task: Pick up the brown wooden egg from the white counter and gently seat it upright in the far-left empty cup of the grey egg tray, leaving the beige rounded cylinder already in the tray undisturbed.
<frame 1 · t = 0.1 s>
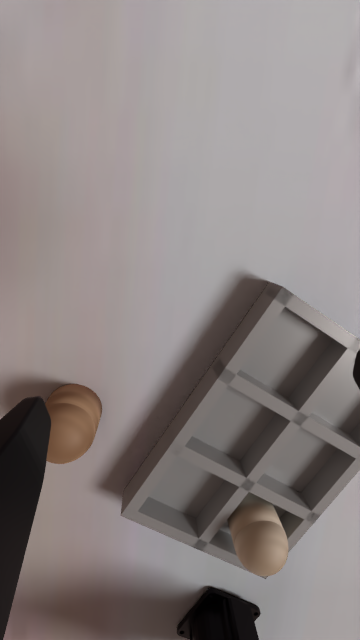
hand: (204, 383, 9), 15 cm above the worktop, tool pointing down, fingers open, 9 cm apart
brown egg: (74, 408, 26), on the worktop
grey egg tray: (262, 433, 28), on the worktop
beige rounded cylinder: (249, 511, 29), point 1 cm above the worktop, touching grey egg tray
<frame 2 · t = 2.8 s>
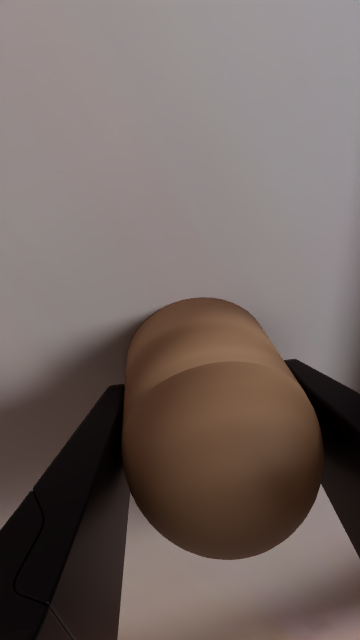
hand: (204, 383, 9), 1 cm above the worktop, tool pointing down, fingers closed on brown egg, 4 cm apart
brown egg: (198, 361, 10), on the worktop, touching gripper
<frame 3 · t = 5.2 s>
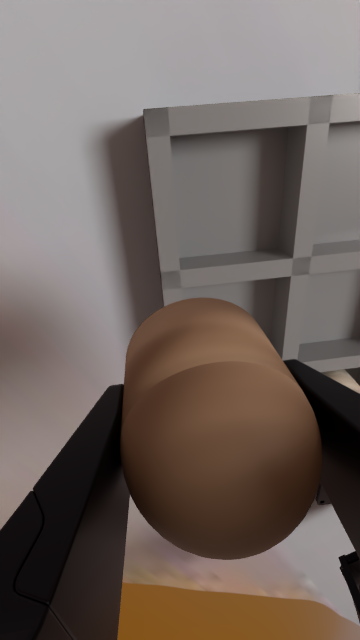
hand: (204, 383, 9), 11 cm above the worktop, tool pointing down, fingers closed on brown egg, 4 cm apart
brown egg: (197, 361, 10), point 10 cm above the worktop, touching gripper
grey egg tray: (277, 304, 21), on the worktop
beige rounded cylinder: (318, 384, 24), point 1 cm above the worktop, touching grey egg tray
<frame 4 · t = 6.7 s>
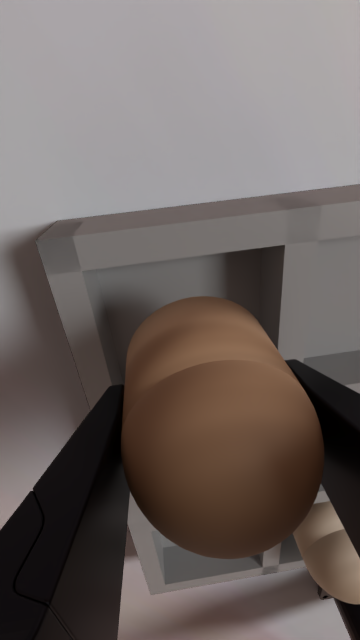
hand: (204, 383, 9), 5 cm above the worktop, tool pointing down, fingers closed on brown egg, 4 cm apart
brown egg: (197, 360, 10), point 4 cm above the worktop, touching gripper
grey egg tray: (261, 417, 17), on the worktop
beige rounded cylinder: (316, 495, 20), point 1 cm above the worktop, touching grey egg tray
when the fingers open (3 cm above the worktop, at t = 7.8 s): brown egg drops 2 cm, resting on grey egg tray.
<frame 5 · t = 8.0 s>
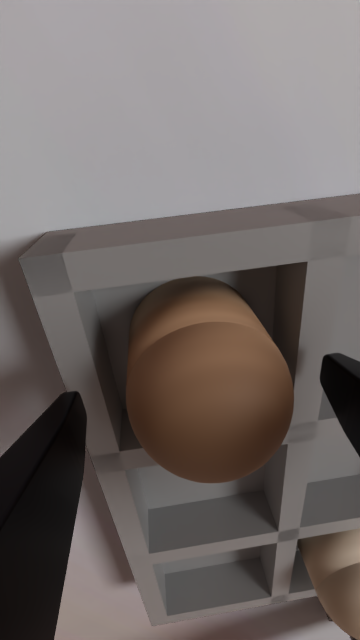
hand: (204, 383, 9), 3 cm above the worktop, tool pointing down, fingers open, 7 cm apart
brown egg: (191, 334, 11), point 1 cm above the worktop, touching grey egg tray
grey egg tray: (271, 439, 15), on the worktop
beige rounded cylinder: (328, 519, 18), point 1 cm above the worktop, touching grey egg tray
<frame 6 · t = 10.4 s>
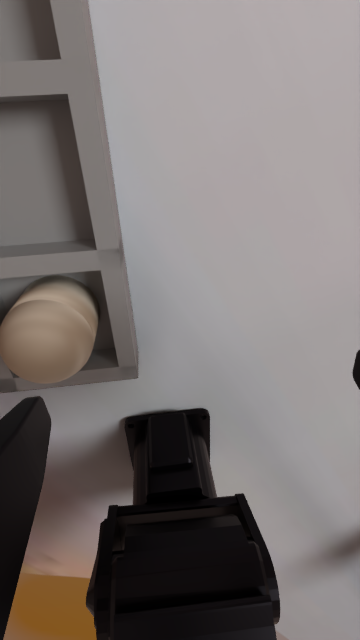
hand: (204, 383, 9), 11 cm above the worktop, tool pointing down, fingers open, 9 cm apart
beige rounded cylinder: (61, 310, 18), point 1 cm above the worktop, touching grey egg tray
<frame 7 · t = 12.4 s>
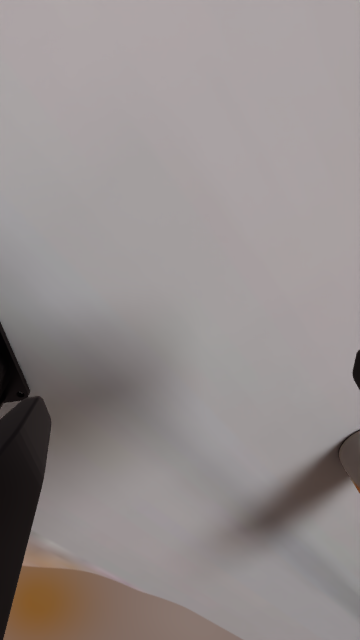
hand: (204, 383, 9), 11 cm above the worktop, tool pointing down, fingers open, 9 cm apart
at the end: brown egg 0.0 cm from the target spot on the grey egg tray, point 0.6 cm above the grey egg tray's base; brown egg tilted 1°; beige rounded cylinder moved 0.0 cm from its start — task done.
